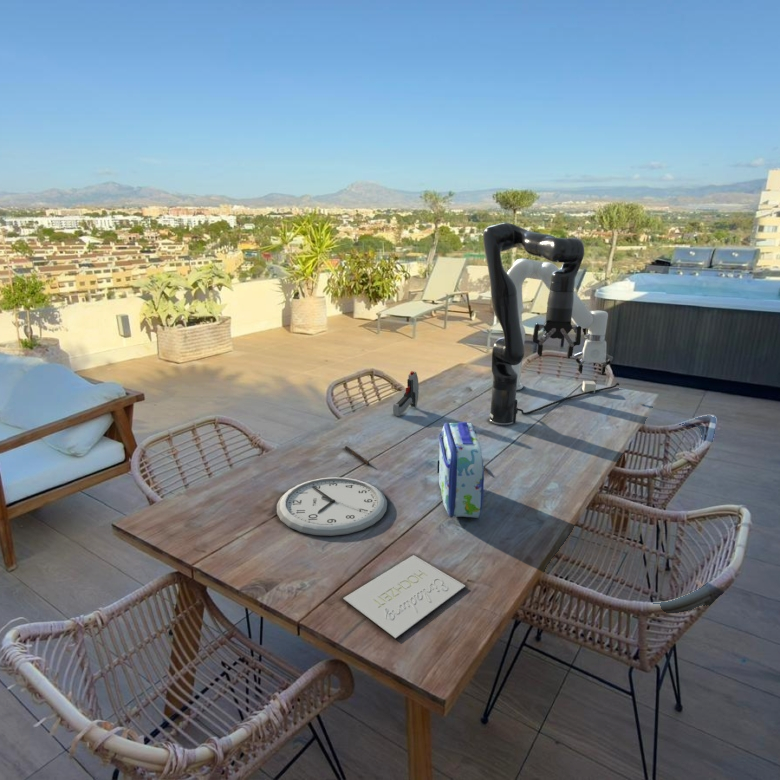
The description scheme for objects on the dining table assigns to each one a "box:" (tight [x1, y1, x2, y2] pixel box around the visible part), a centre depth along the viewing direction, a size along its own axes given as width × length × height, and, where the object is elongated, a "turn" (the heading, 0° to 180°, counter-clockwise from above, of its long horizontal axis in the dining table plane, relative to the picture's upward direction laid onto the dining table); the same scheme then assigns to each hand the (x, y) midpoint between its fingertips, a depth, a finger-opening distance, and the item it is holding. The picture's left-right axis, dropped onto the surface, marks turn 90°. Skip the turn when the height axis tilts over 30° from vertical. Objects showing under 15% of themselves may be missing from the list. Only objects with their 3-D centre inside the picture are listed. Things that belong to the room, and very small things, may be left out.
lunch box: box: [436, 421, 485, 519], centre depth 143 cm, size 26×11×21 cm, turn 179°
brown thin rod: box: [344, 445, 370, 465], centre depth 173 cm, size 15×1×1 cm, turn 34°
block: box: [581, 380, 597, 394], centre depth 248 cm, size 5×5×4 cm
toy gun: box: [392, 370, 420, 417], centre depth 214 cm, size 2×16×15 cm
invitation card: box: [343, 554, 466, 639], centre depth 109 cm, size 21×1×15 cm
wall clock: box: [276, 476, 388, 537], centre depth 142 cm, size 30×2×30 cm
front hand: (554, 357), depth 165 cm, fingers open, 8 cm apart
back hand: (591, 373), depth 246 cm, fingers open, 9 cm apart
